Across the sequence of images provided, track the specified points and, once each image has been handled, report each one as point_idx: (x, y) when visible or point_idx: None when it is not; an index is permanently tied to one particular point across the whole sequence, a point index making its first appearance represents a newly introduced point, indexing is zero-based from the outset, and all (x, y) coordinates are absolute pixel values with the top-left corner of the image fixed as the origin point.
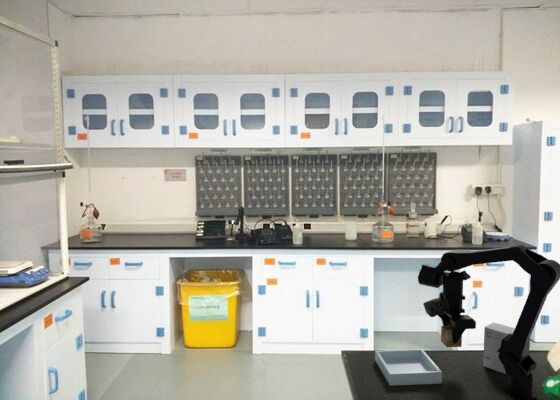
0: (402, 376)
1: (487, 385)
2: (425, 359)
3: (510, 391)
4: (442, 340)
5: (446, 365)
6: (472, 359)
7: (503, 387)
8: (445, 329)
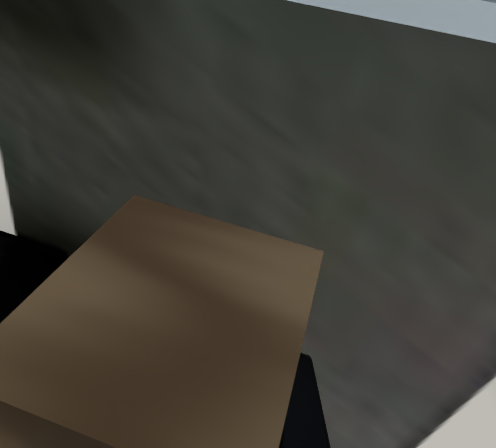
0: None
1: (89, 215)
2: None
3: (7, 247)
4: (268, 256)
5: (351, 174)
6: (356, 349)
7: (50, 253)
8: (46, 421)
